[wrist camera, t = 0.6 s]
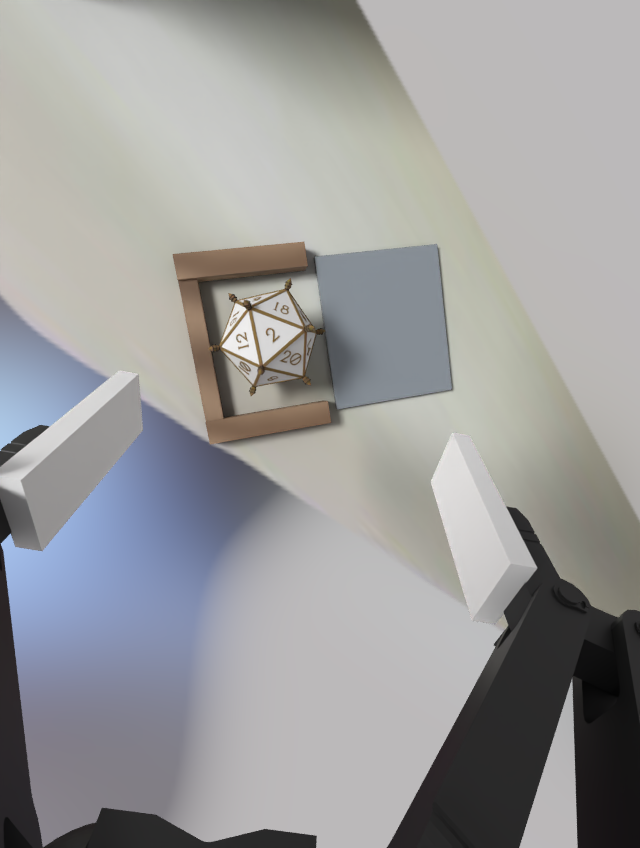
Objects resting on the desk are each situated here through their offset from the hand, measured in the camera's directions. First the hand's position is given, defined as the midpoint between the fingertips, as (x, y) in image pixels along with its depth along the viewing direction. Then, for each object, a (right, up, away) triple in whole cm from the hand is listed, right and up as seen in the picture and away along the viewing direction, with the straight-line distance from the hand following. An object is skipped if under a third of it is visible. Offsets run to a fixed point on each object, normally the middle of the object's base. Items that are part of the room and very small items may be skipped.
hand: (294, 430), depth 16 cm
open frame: (-5, +7, +19) cm, 21 cm away
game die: (-4, +8, +19) cm, 21 cm away
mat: (+7, +10, +21) cm, 24 cm away
